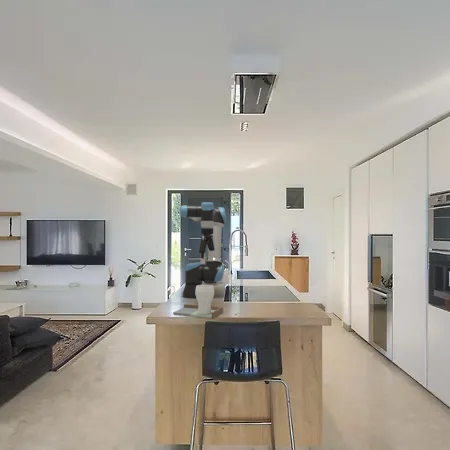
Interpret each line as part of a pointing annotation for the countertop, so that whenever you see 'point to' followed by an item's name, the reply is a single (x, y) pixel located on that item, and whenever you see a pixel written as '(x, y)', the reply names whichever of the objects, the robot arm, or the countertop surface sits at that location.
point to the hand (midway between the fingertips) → (206, 262)
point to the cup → (204, 298)
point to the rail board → (193, 311)
